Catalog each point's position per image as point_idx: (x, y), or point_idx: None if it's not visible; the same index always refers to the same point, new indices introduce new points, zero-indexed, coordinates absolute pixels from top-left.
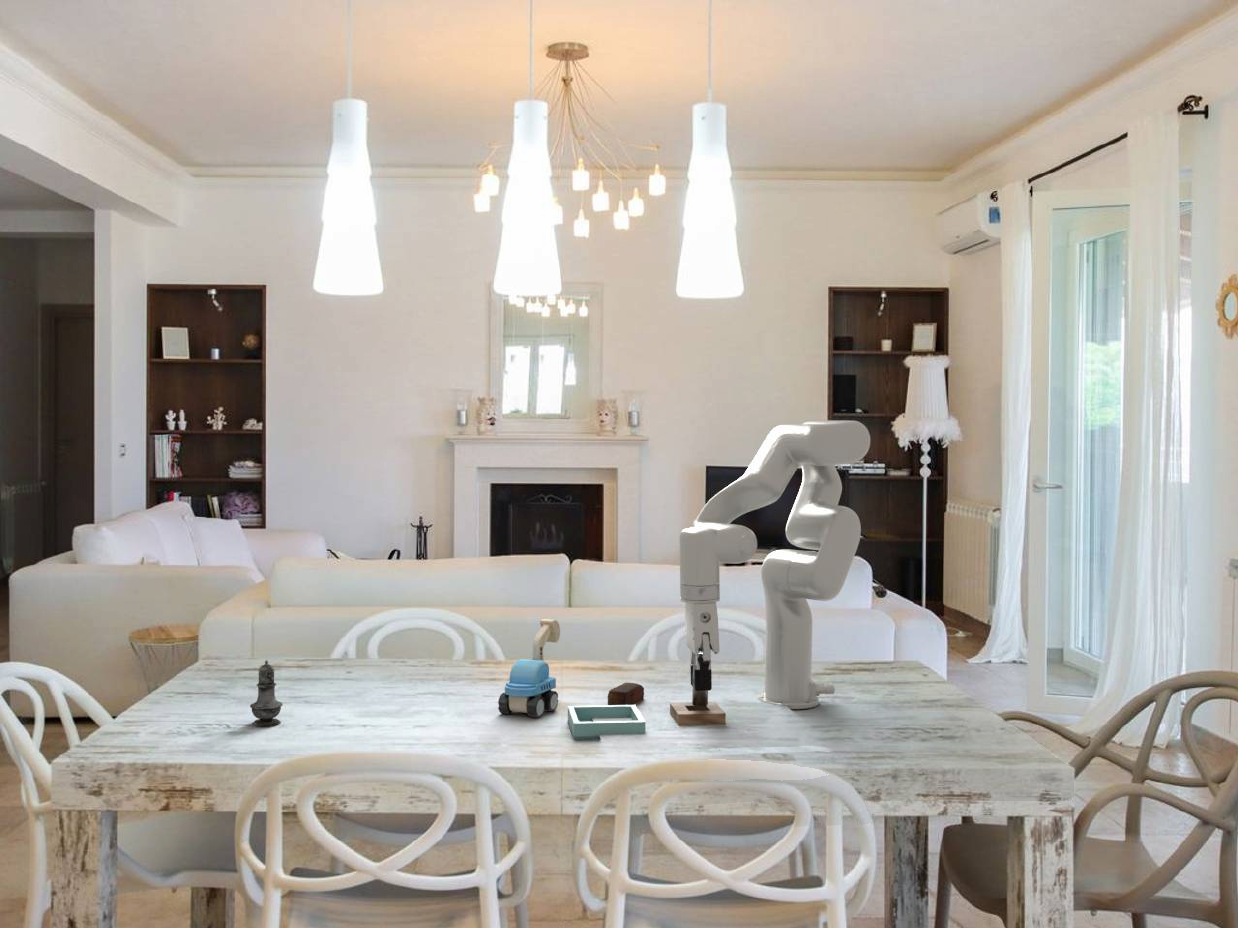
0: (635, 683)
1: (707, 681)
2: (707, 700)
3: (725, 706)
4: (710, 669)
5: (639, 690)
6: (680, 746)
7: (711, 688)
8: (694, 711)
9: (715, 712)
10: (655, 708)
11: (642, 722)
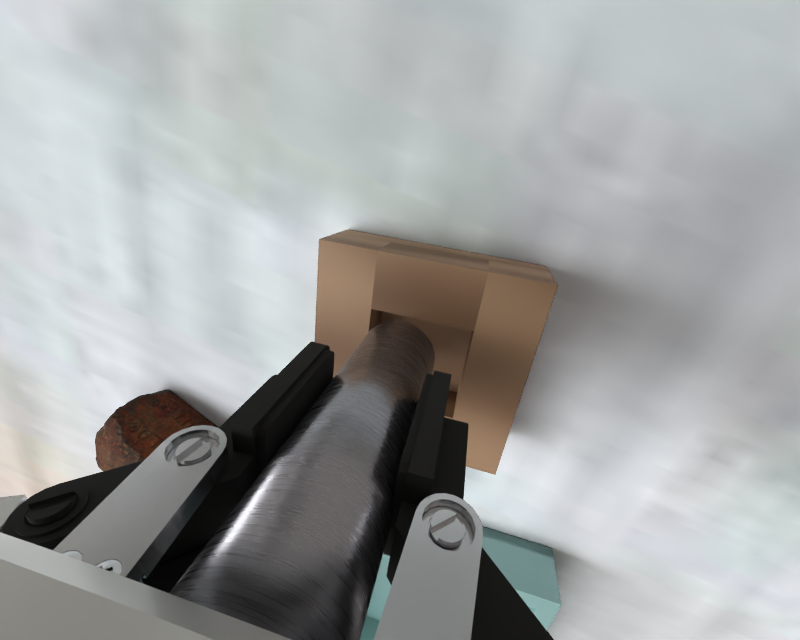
0: (111, 452)
1: (465, 445)
2: (418, 340)
3: (182, 111)
4: (472, 513)
5: (151, 440)
6: (707, 514)
7: (450, 375)
8: (468, 401)
9: (519, 325)
10: (214, 376)
11: (557, 608)
